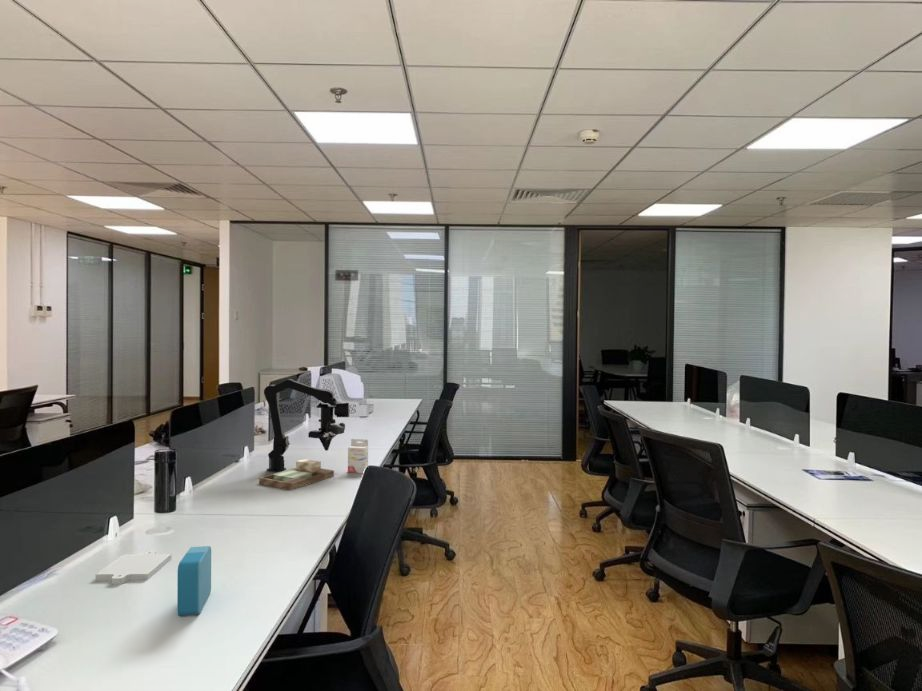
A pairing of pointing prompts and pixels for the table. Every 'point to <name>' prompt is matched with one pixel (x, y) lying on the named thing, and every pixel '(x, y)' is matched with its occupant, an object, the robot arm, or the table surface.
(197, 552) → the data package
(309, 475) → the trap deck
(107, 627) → the table surface
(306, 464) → the maple slab
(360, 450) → the ink cartridge box
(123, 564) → the mounting plate
